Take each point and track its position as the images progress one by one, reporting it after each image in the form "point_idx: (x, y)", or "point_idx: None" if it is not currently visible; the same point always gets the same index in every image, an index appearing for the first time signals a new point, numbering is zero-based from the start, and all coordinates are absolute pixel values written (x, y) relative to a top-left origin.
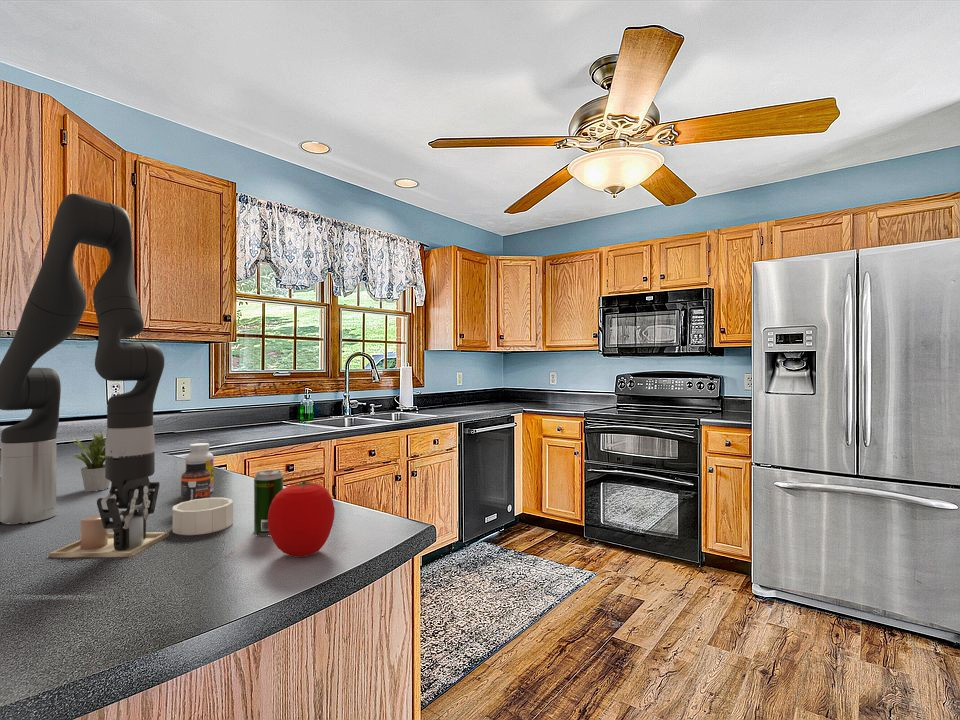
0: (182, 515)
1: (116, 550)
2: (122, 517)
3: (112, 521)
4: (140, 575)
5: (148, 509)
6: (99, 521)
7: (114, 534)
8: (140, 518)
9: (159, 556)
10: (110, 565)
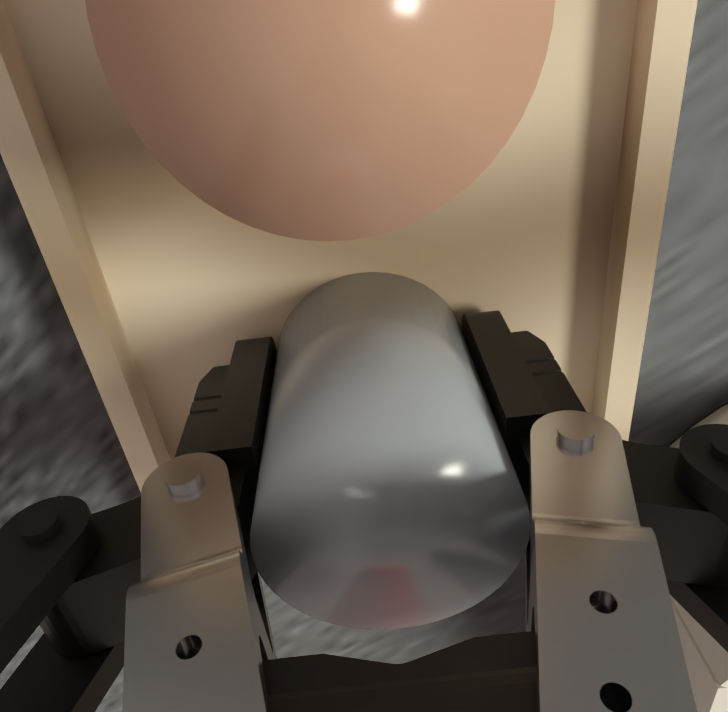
0: (698, 658)
1: (253, 336)
2: (424, 438)
3: (63, 619)
4: (14, 663)
5: (679, 577)
6: (251, 214)
7: (180, 453)
8: (400, 622)
9: (264, 590)
10: (52, 456)
